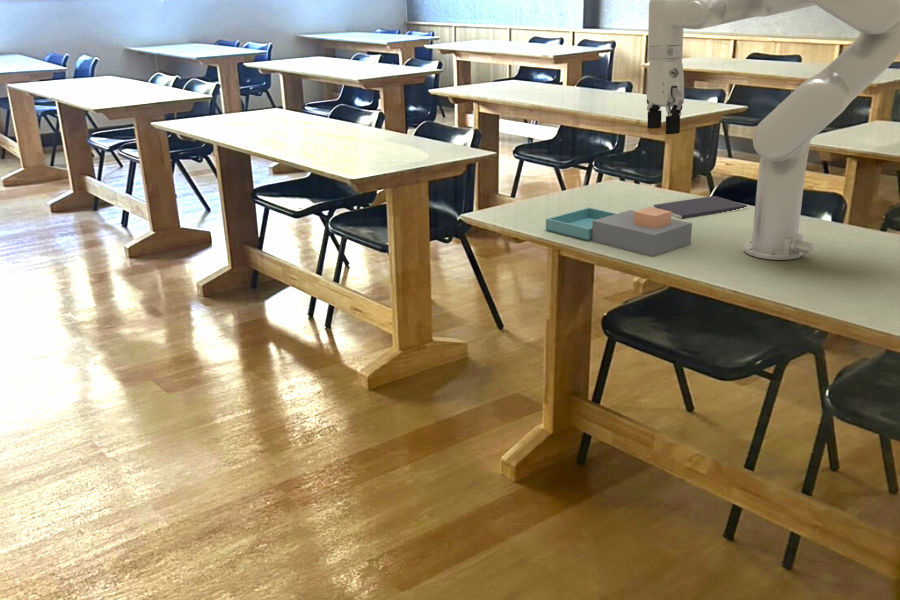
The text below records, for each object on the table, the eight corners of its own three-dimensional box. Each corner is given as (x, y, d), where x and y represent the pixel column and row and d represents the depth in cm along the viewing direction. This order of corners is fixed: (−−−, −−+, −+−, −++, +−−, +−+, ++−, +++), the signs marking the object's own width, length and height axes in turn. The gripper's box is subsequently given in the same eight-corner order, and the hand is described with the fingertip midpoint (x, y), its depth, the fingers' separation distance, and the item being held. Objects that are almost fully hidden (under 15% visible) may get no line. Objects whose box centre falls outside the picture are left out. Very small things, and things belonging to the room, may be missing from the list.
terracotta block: (670, 224, 200) (671, 211, 199) (654, 229, 197) (655, 216, 196) (649, 219, 205) (650, 207, 204) (633, 224, 201) (634, 211, 200)
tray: (631, 228, 216) (631, 216, 215) (588, 241, 207) (588, 229, 206) (588, 218, 226) (589, 207, 225) (545, 230, 217) (546, 218, 216)
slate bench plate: (690, 243, 202) (692, 223, 201) (653, 256, 194) (654, 235, 192) (629, 229, 215) (630, 209, 214) (592, 240, 207) (592, 220, 205)
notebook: (681, 221, 223) (746, 210, 231) (682, 215, 223) (746, 205, 231) (651, 210, 234) (714, 201, 242) (652, 204, 234) (715, 195, 242)
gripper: (698, 54, 185) (695, 134, 191) (664, 50, 202) (662, 124, 207) (666, 56, 184) (664, 137, 190) (633, 53, 200) (632, 127, 206)
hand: (663, 130), depth 198 cm, fingers open, 9 cm apart
